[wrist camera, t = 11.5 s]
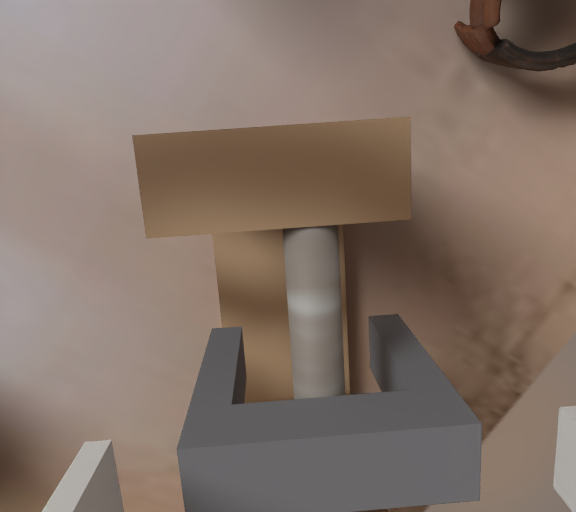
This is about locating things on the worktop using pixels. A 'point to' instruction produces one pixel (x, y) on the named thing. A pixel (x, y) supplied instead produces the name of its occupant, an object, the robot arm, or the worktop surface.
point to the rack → (280, 232)
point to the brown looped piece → (506, 42)
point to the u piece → (329, 436)
